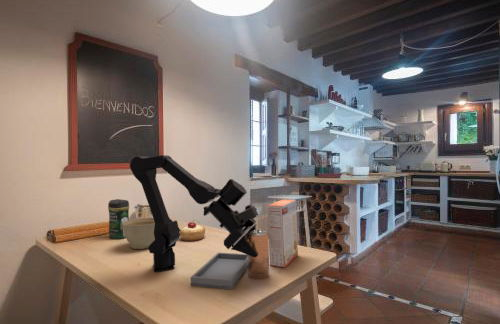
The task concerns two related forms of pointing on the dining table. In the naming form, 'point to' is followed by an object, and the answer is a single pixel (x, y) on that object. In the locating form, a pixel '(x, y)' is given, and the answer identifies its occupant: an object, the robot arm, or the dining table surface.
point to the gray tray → (221, 271)
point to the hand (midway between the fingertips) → (260, 251)
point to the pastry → (192, 232)
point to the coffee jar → (117, 217)
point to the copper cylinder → (259, 254)
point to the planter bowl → (139, 232)
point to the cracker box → (282, 232)
